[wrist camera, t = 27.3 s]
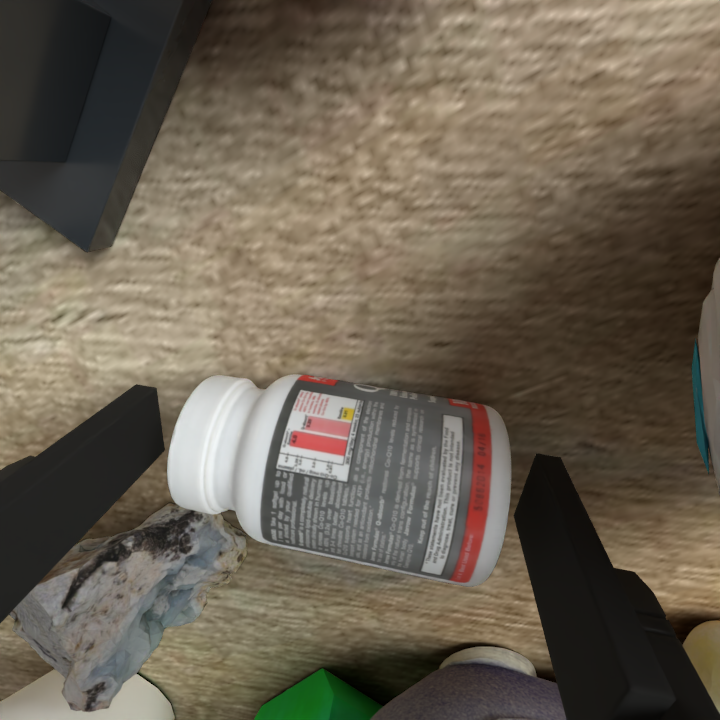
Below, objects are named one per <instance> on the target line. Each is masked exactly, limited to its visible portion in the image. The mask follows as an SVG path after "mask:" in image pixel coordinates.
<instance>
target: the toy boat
mask: <svg viewBox="0 0 720 720" xmlns="http://www.w3.org/2000/svg"><path fill="white" fill-rule="evenodd" d="M370 720H566V716H565V712H564V708H563V704H562V700H561V697H560V693H559V689H558V685H557V683H554V682H551V681H548V680H544V679H541V678H537V675H536V671H535V668H534V666H533V664H532V663H531V662H530V661H529V660H528V659H527V658H525V657H524V656H522V655H520V654H518V653H517V652H514V651H511V650H508V649H504V648H496V647H474V648H469V649H464V650H462V651H459V652H457V653H454V654H452V655H451V656H449V657H448V658H446V659H445V660H444V661H443V663H442V664H441V665H440V668H439V669H438V670H436V671H434V672H432V673H430V674H429V675H427V676H426V677H425V678H423V679H422V680H420V681H419V682H418V683H416V684H414V685H413V686H411V687H410V688H408V689H407V690H406V691H404V692H403V693H401V694H400V695H398V696H396V697H395V698H394V699H392V700H391V701H390V702H389V703H387V704H386V705H385V706H384V707H382V708H381V709H380V710H379V711H378V712H377V713H376V714H375V715H374V716H373V717H372V718H371V719H370Z"/></svg>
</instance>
